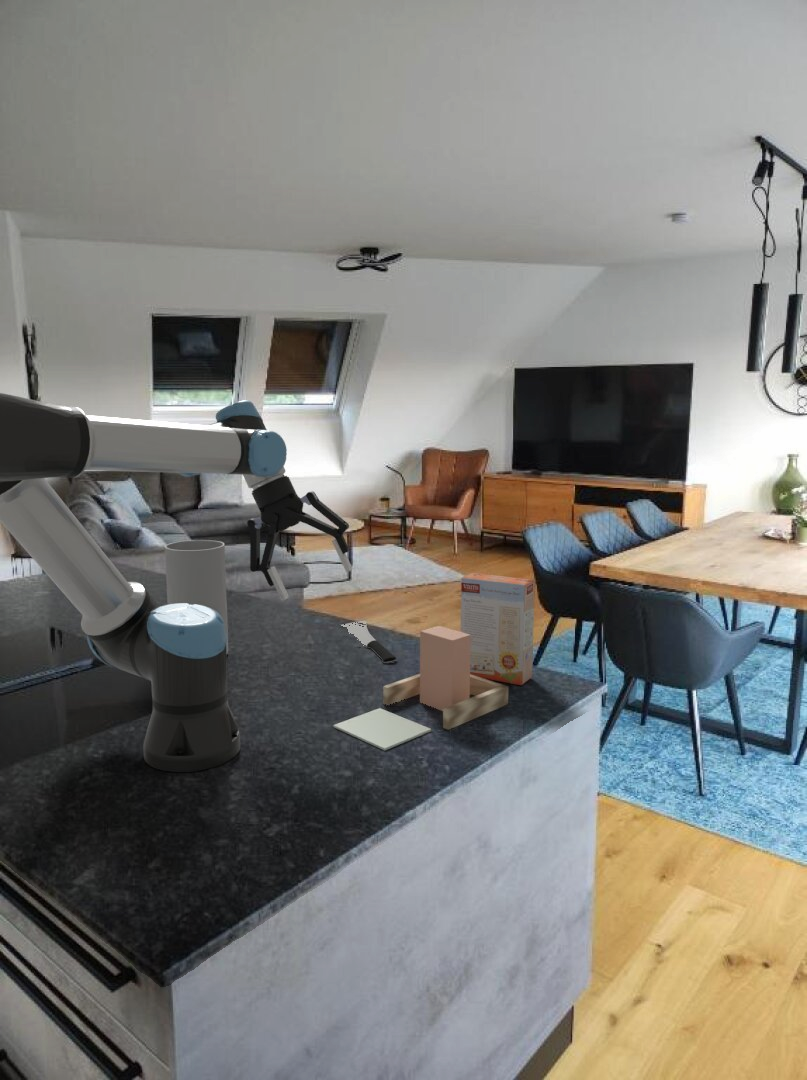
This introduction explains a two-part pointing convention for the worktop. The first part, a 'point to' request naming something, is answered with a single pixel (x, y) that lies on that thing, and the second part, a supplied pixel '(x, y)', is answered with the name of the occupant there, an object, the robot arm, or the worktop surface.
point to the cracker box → (499, 626)
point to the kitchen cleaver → (369, 641)
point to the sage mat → (382, 728)
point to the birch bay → (483, 702)
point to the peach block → (444, 667)
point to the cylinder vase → (197, 575)
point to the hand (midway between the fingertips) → (317, 585)
